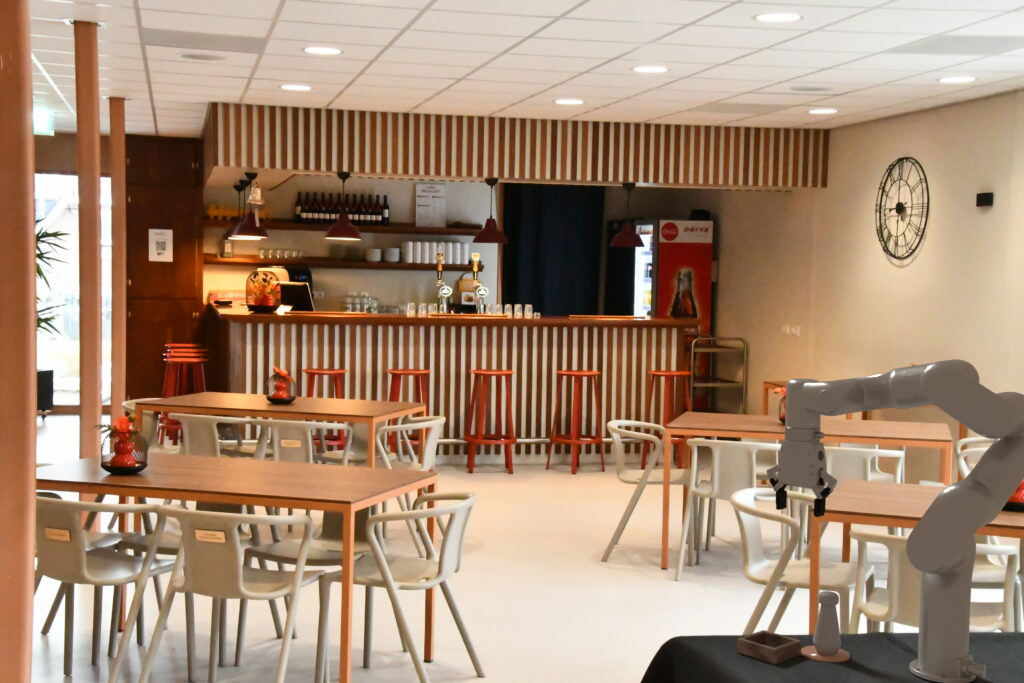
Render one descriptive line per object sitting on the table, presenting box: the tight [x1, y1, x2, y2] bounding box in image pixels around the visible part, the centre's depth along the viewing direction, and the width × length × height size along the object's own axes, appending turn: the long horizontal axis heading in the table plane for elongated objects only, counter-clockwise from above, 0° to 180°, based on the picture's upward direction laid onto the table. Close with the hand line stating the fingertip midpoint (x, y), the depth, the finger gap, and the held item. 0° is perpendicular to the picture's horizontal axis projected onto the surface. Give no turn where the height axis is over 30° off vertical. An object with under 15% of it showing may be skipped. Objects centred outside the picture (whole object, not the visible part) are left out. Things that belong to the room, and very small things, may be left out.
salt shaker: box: [812, 590, 842, 656], centre depth 241 cm, size 6×6×13 cm
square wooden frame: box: [736, 629, 802, 665], centre depth 241 cm, size 10×10×3 cm
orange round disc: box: [801, 644, 851, 663], centre depth 241 cm, size 10×10×1 cm
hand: (799, 512), depth 250 cm, fingers open, 9 cm apart
